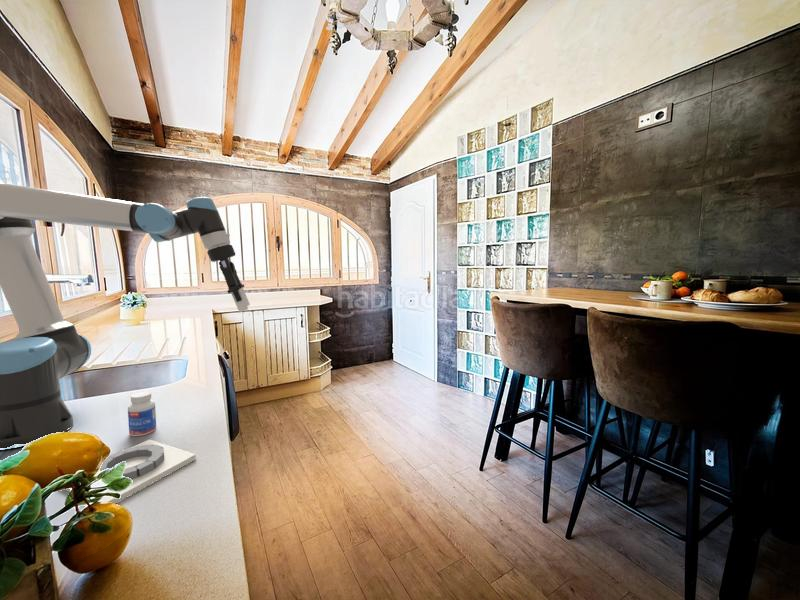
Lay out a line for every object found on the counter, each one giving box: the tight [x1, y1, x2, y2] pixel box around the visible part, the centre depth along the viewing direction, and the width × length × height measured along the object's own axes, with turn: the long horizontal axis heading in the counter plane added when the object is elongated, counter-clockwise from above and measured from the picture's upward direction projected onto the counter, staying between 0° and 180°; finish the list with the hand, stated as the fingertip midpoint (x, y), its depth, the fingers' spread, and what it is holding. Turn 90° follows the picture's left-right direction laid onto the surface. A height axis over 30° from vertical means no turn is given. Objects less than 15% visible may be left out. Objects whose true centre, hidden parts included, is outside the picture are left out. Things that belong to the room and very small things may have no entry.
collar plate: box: [65, 439, 197, 504], centre depth 66 cm, size 16×16×3 cm
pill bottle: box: [127, 391, 157, 437], centre depth 82 cm, size 6×5×10 cm
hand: (245, 308), depth 109 cm, fingers open, 13 cm apart
